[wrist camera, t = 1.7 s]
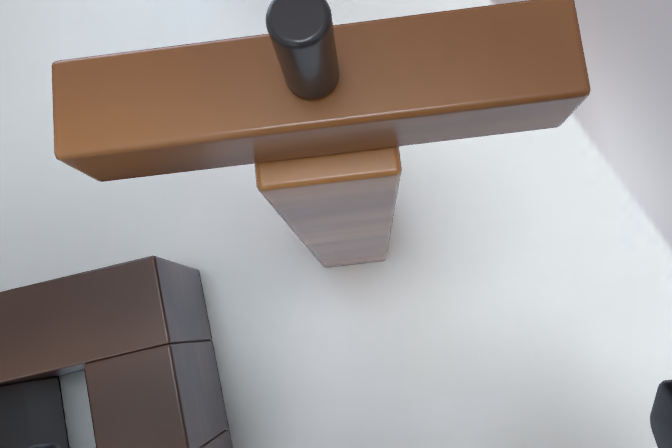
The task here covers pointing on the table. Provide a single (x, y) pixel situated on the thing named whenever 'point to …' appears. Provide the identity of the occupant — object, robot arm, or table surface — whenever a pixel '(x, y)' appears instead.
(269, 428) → the table surface
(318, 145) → the brown beam with peg
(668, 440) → the robot arm
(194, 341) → the rack
